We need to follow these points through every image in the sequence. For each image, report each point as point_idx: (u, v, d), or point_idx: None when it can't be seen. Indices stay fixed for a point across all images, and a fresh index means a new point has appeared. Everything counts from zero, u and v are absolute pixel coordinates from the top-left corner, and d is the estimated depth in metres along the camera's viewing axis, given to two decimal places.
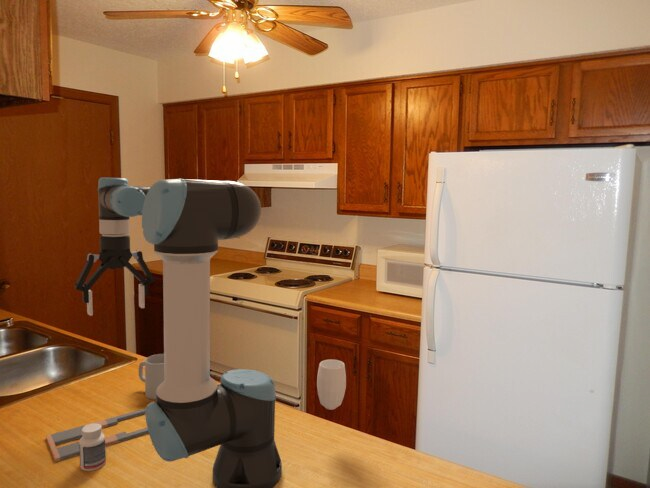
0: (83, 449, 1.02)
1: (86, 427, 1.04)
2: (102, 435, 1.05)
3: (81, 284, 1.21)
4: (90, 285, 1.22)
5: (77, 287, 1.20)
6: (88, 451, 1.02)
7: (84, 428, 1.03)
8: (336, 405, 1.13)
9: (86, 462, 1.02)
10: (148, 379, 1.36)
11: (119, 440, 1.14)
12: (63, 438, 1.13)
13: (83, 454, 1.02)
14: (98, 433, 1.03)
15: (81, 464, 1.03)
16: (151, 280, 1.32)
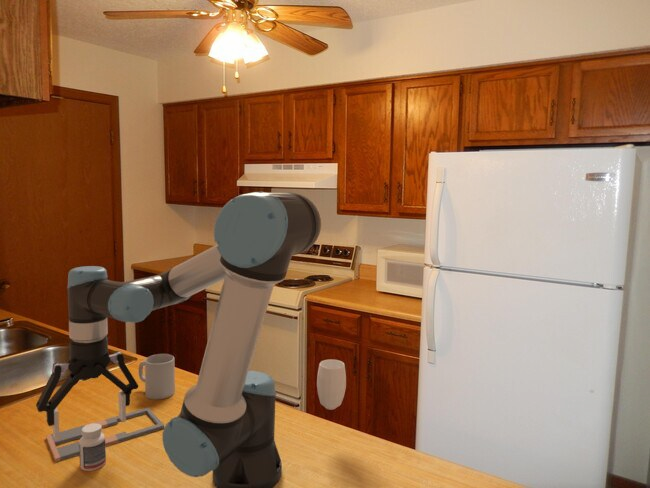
0: (83, 449, 1.02)
1: (86, 427, 1.04)
2: (102, 435, 1.05)
3: (44, 404, 0.96)
4: (56, 404, 0.98)
5: (39, 408, 0.96)
6: (88, 451, 1.02)
7: (84, 428, 1.03)
8: (336, 405, 1.13)
9: (86, 462, 1.02)
10: (148, 379, 1.36)
11: (119, 440, 1.14)
12: (63, 438, 1.13)
13: (83, 454, 1.02)
14: (98, 433, 1.03)
15: (81, 464, 1.03)
16: (134, 387, 1.08)
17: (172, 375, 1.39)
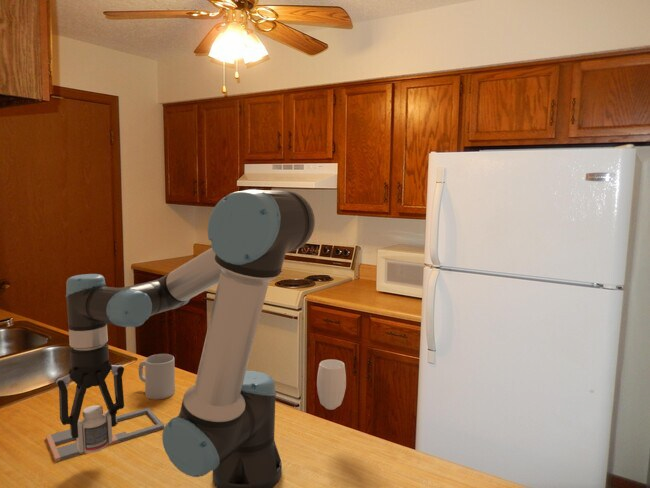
0: (84, 430, 1.01)
1: (87, 409, 1.03)
2: (103, 416, 1.04)
3: (66, 417, 0.98)
4: (77, 415, 1.00)
5: (63, 422, 0.98)
6: (89, 432, 1.01)
7: (85, 410, 1.02)
8: (336, 405, 1.13)
9: (88, 444, 1.01)
10: (148, 379, 1.36)
11: (119, 440, 1.14)
12: (63, 438, 1.13)
13: (85, 435, 1.01)
14: (99, 414, 1.02)
15: (83, 446, 1.02)
16: (120, 406, 1.05)
17: (172, 375, 1.39)
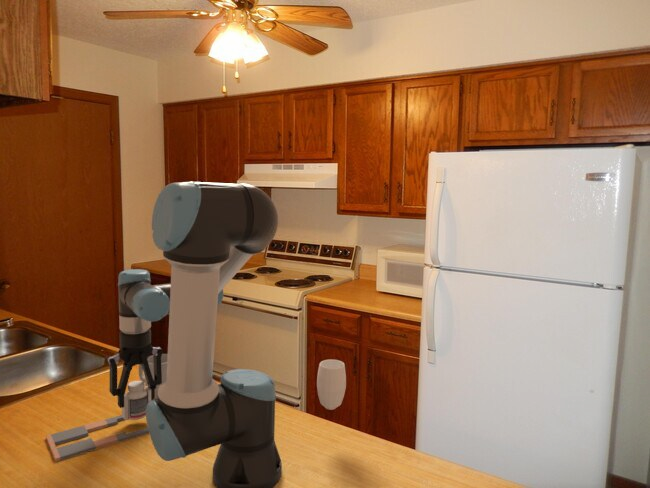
0: (129, 401, 1.19)
1: (131, 383, 1.21)
2: (145, 390, 1.22)
3: (115, 389, 1.17)
4: (124, 388, 1.18)
5: (113, 394, 1.16)
6: (133, 403, 1.19)
7: (129, 384, 1.21)
8: (336, 405, 1.13)
9: (132, 412, 1.19)
10: None
11: (119, 440, 1.14)
12: (63, 438, 1.13)
13: (130, 405, 1.19)
14: (142, 388, 1.21)
15: None
16: (158, 382, 1.24)
17: None
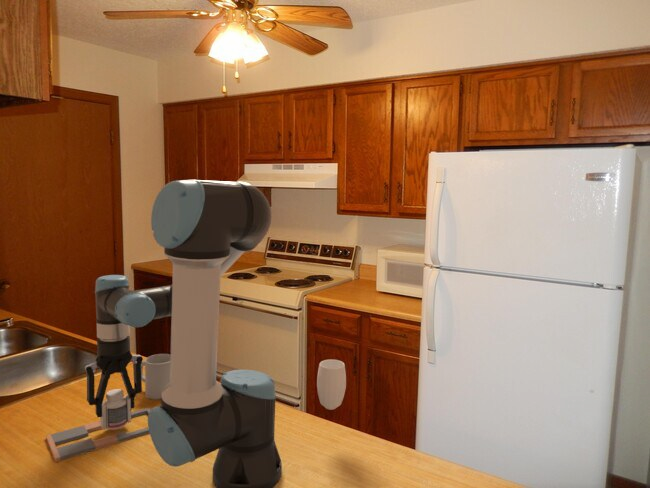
0: (108, 410, 1.16)
1: (110, 392, 1.18)
2: (124, 399, 1.19)
3: (92, 398, 1.14)
4: (101, 397, 1.15)
5: (90, 403, 1.13)
6: (112, 412, 1.16)
7: (108, 392, 1.17)
8: (336, 405, 1.13)
9: (110, 422, 1.16)
10: (148, 379, 1.36)
11: (119, 440, 1.14)
12: (63, 438, 1.13)
13: (108, 414, 1.16)
14: (120, 397, 1.17)
15: (106, 424, 1.17)
16: (138, 391, 1.20)
17: None
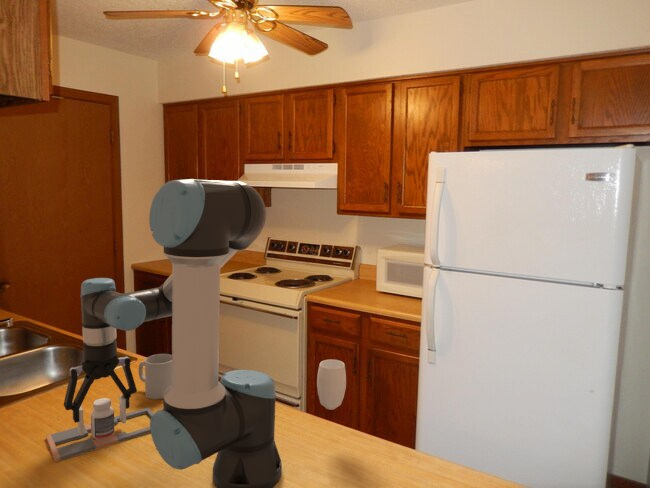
0: (94, 420, 1.14)
1: (97, 401, 1.16)
2: (111, 408, 1.17)
3: (70, 403, 1.10)
4: (80, 402, 1.12)
5: (66, 407, 1.10)
6: (99, 422, 1.14)
7: (95, 402, 1.16)
8: (336, 405, 1.13)
9: (97, 432, 1.14)
10: (148, 379, 1.36)
11: (119, 440, 1.14)
12: (63, 438, 1.13)
13: (95, 424, 1.14)
14: (108, 406, 1.15)
15: (92, 434, 1.15)
16: (133, 391, 1.20)
17: None
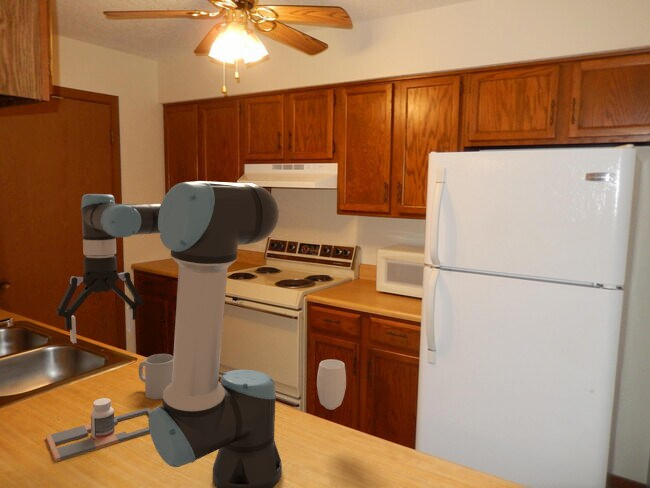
0: (94, 420, 1.14)
1: (97, 401, 1.16)
2: (111, 408, 1.17)
3: (63, 310, 1.12)
4: (73, 310, 1.13)
5: (59, 313, 1.11)
6: (99, 422, 1.14)
7: (95, 402, 1.16)
8: (336, 405, 1.13)
9: (97, 432, 1.14)
10: (148, 379, 1.36)
11: (119, 440, 1.14)
12: (63, 438, 1.13)
13: (95, 424, 1.14)
14: (108, 406, 1.15)
15: (92, 434, 1.15)
16: (140, 303, 1.24)
17: None
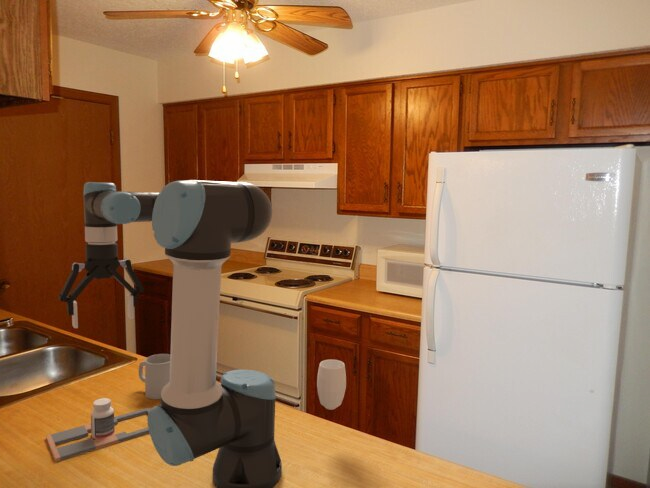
0: (94, 420, 1.14)
1: (97, 401, 1.16)
2: (111, 408, 1.17)
3: (65, 295, 1.14)
4: (75, 296, 1.16)
5: (61, 298, 1.14)
6: (99, 422, 1.14)
7: (95, 402, 1.16)
8: (336, 405, 1.13)
9: (97, 432, 1.14)
10: (148, 379, 1.36)
11: (119, 440, 1.14)
12: (63, 438, 1.13)
13: (95, 424, 1.14)
14: (108, 406, 1.15)
15: (92, 434, 1.15)
16: (140, 290, 1.26)
17: None
